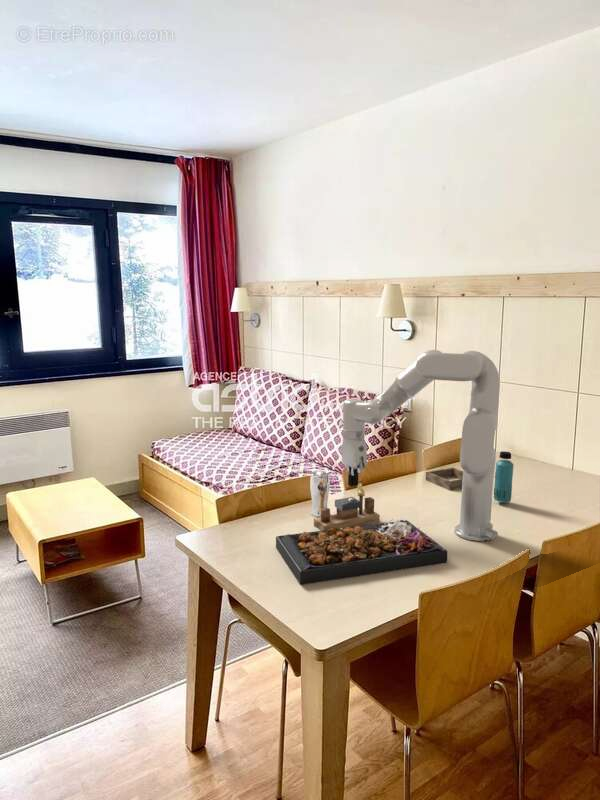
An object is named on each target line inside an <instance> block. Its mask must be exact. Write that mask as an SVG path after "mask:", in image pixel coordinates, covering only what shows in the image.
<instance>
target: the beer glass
mask: <svg viewBox="0 0 600 800" xmlns="http://www.w3.org/2000/svg"><path fill="white" fill-rule="evenodd" d="M330 479H331V477H330V472H328V471H325V470H315V471H311V473H310V479H309V480H310V481H309V487H310V488H309V490H310V496H311V497H310V498H311V502H312V505H311V506H312V507H311V510H310V511H311V512H310V515H311V516H313V517H315V518H319V517H321V509H322V508H328V501H329V496H330V495H329V494H330V489H331V488H330V487H331V486H330V485H331V481H330Z"/></svg>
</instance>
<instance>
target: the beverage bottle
mask: <svg viewBox="0 0 600 800" xmlns="http://www.w3.org/2000/svg"><path fill="white" fill-rule="evenodd" d="M510 459H512V452H510V451H506V450H504V451H500V452H499V460H498V461H496V462H495V471H494V483H493V499H494V501H497V502H499V503H510V502H511V500H512V493H513V492H512V490H513V475H514V465H515V464H514V463H513V462H512V461H511V460H510Z"/></svg>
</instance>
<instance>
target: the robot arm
mask: <svg viewBox="0 0 600 800" xmlns="http://www.w3.org/2000/svg"><path fill="white" fill-rule="evenodd" d="M434 380H436V381H449V382H450V381H451V382H470V381H471V391H470V402H469V403H470V404H469V410H468V411H469V412H468V413H467V415H466V417H465V419H464V421H463V424H462V430H461V441H460V452H459V464H460V467H461V469H462V471H463V480H462V488H461V498H460V499H461V500H460V502H461V503H460V515H459V517H460V519H459V524H457V525H456V526H455V527H454V533H455V534H456V535H457V536H458V537H460V538H462V539H464V540H467V541H468V540H469V541H473V540H474V542H475V541H476V542H486V541H485V540H487V541H490V540H494V539H495V538H496V536H497V535H498V534H499V533H498V531H496V530H495V529H493V526H494V525H493V523H492V522H491V519H492V507H493V506H492V503H493V502H492V501H493V492H494V480H495V470H496V457H497V456H496V455H497V454H496V449H495V447H494V446H495V438H496V437H495V435H496V430H497V428H498V423H499V422H498V415H499V414H498V413H499V402H500V391H501V390H500V388H501V387H500V386H501V384H500V375H499V371H498V368H497V367H496V365H495V363H494V362H493V360H491V359H490V357H488V356H487V355H485V354H484V353H482V352H480V351H476V350H468V351H465V352H463V353H455V352H454V353H447V352H442V351H440V350H439V349H430V350H429V349H428V350H427V351H425V352H422V353H421V354H420V355H419V356H418V357H417V359H416V360H415V361H414V362H413V363H411V364H410V365H409V366H408V367H407V368H406V369H404V370H403V371H402V372H400V373H399V374H398V375H397V377H396V378H395V380H394V381H393V383H392V384H391V385H390V386H389V387H387V388H386V389H385V390H384V391H383V392H382V393H381V394H380V395H378V396H376V397H375V398H374V399H373V400H371V401H368V402H365V401H364V400H362V399H359V398H350V399H346V400H344V401H343V405H342V443H341V462H342V463H343V466H344V467H345V468H346V471H347V478H348V480H347V481H348V482H347V485H348V486H350V487H357V486H358V483H359V475H360V473H364V468H368V451H367V443H366V439H365V436H366V435H365V433H366V432H365V431H366V427H365V426H366V425H365V424H370V425H375V424H379V423H380V422H381V421H382V422H383V420H384V419H386V418H387V417H389V416H390V415H392V413H393V412H395V411H396V410H398V408H400V407H401V406H402V405H403V404H405V403H406V402H407V401H409V400H411V399H412V398H414V397H415V396H416V395H417V394H418V393H420V392H421V391H422V390H423V389H424V388H425V387H427V386H428V385H429V384H431V383H433V381H434Z"/></svg>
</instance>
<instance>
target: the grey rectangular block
mask: <svg viewBox="0 0 600 800" xmlns="http://www.w3.org/2000/svg"><path fill="white" fill-rule="evenodd" d="M334 507H335V508H336V509H337V508H338V509H340V510H342V511H344V510H350V509H355V508H358V509H359V508H360V501H359V499H356V498H355V497H354V496H353V497H352V496H350V497H343V498H339V499H334Z"/></svg>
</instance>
